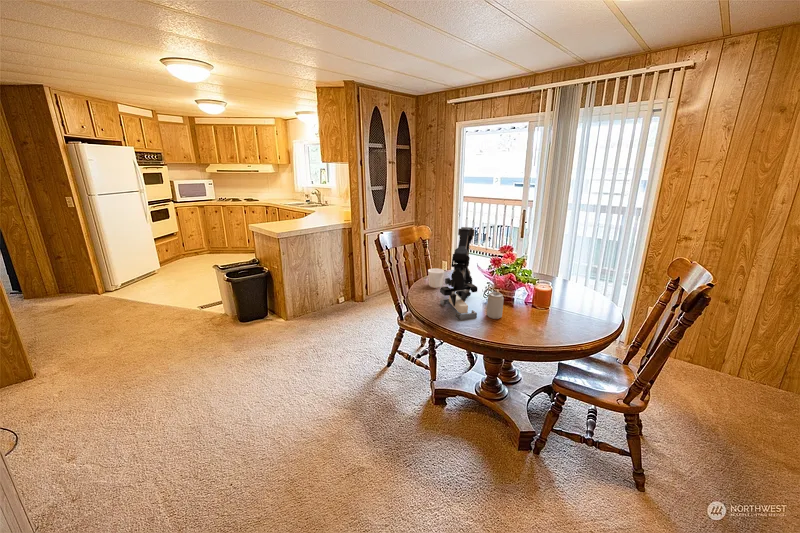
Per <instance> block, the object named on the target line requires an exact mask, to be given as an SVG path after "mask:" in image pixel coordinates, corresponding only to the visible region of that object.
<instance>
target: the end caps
mask: <svg viewBox="0 0 800 533" xmlns="http://www.w3.org/2000/svg"><path fill="white" fill-rule="evenodd" d="M439 303H440V306H442V307H443V308H444V307H446V306H445V305H448V304H451V303H450V302H449V298H442V299H440V302H439ZM477 316H478V313H477V312H476V311H475V310H471V313H463V314H460V313H459V312H455V318H456V319H457V320H458V321H465V320H471V319H472V320H473V319H476V318H477Z"/></svg>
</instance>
